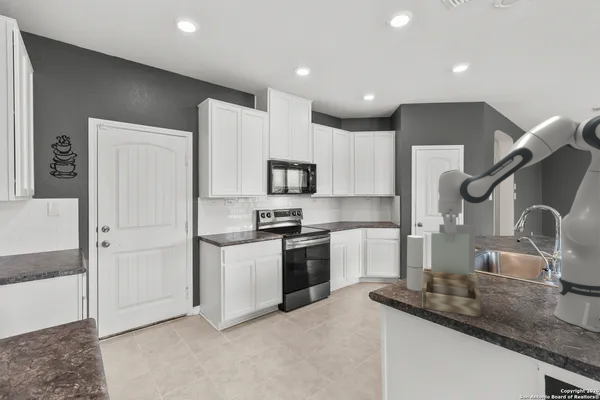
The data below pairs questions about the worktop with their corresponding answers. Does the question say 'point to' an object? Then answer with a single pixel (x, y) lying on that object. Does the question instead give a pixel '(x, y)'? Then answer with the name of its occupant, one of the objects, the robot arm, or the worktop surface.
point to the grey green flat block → (450, 253)
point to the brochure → (471, 231)
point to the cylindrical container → (414, 262)
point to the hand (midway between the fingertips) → (449, 241)
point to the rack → (452, 297)
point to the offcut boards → (450, 284)
